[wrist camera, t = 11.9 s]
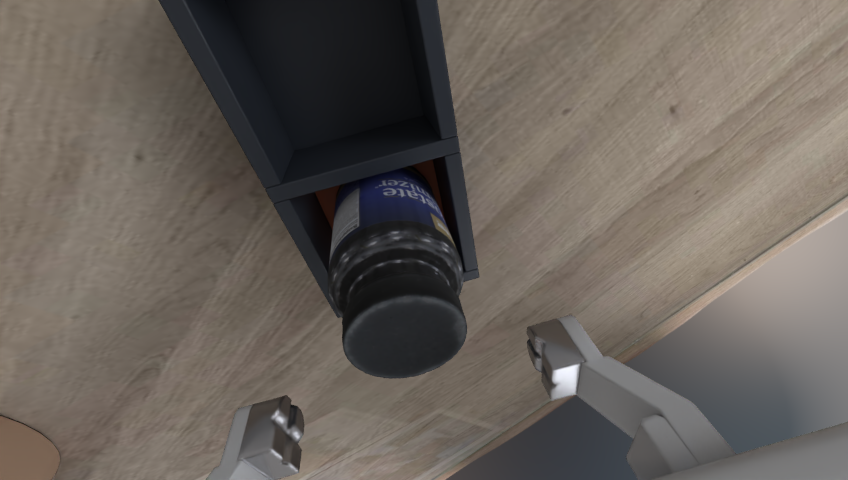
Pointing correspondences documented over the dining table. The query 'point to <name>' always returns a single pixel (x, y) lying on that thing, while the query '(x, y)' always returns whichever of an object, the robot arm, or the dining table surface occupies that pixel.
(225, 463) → the robot arm
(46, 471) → the bowl
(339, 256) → the pill bottle
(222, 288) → the dining table surface
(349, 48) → the black divided organizer
